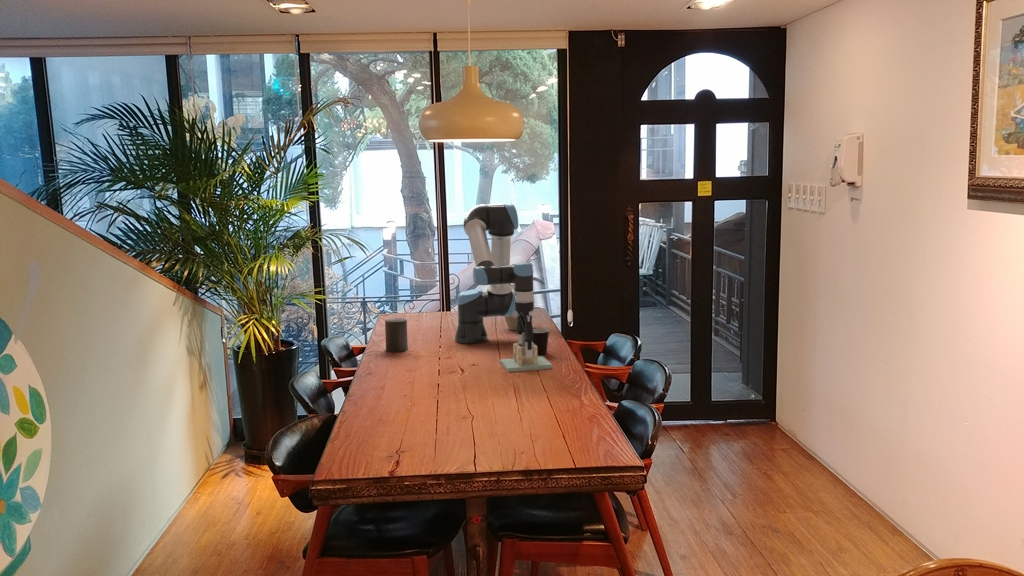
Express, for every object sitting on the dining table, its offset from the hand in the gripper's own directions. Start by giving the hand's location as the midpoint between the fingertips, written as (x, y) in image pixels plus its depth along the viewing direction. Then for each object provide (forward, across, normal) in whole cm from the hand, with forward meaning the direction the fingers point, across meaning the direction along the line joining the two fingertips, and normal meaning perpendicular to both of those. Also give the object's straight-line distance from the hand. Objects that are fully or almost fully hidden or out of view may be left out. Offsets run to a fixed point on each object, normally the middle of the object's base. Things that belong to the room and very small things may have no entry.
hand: (525, 353), depth 325 cm
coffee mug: (+5, -20, +11) cm, 23 cm away
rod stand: (+5, 0, 0) cm, 5 cm away
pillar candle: (+5, -46, -48) cm, 66 cm away
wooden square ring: (+3, 0, 0) cm, 3 cm away
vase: (+5, -72, +14) cm, 73 cm away
